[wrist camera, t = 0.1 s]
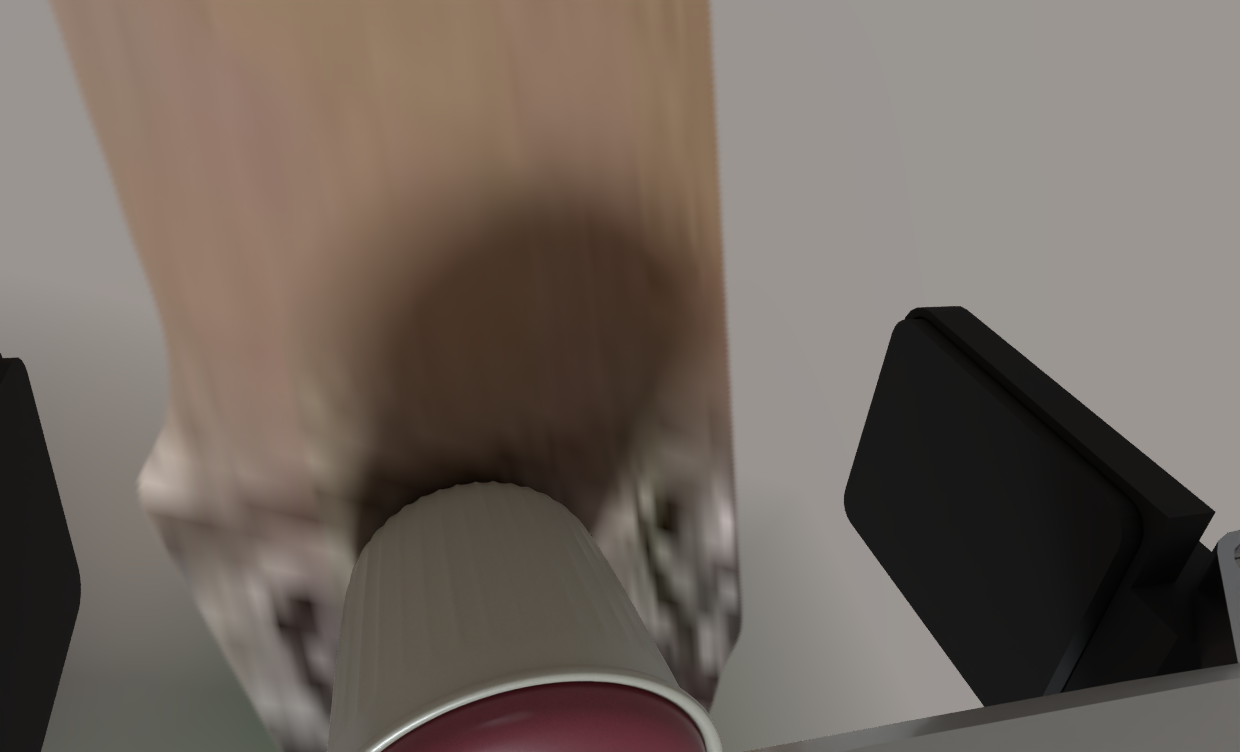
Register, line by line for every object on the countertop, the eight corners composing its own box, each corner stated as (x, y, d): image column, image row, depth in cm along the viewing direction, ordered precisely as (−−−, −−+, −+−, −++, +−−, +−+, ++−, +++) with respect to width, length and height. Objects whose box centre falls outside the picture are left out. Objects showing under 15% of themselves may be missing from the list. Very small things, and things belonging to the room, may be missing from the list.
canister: (371, 706, 57) (400, 1101, 40) (245, 497, 47) (212, 913, 30) (646, 604, 59) (784, 940, 42) (585, 382, 49) (737, 711, 32)
